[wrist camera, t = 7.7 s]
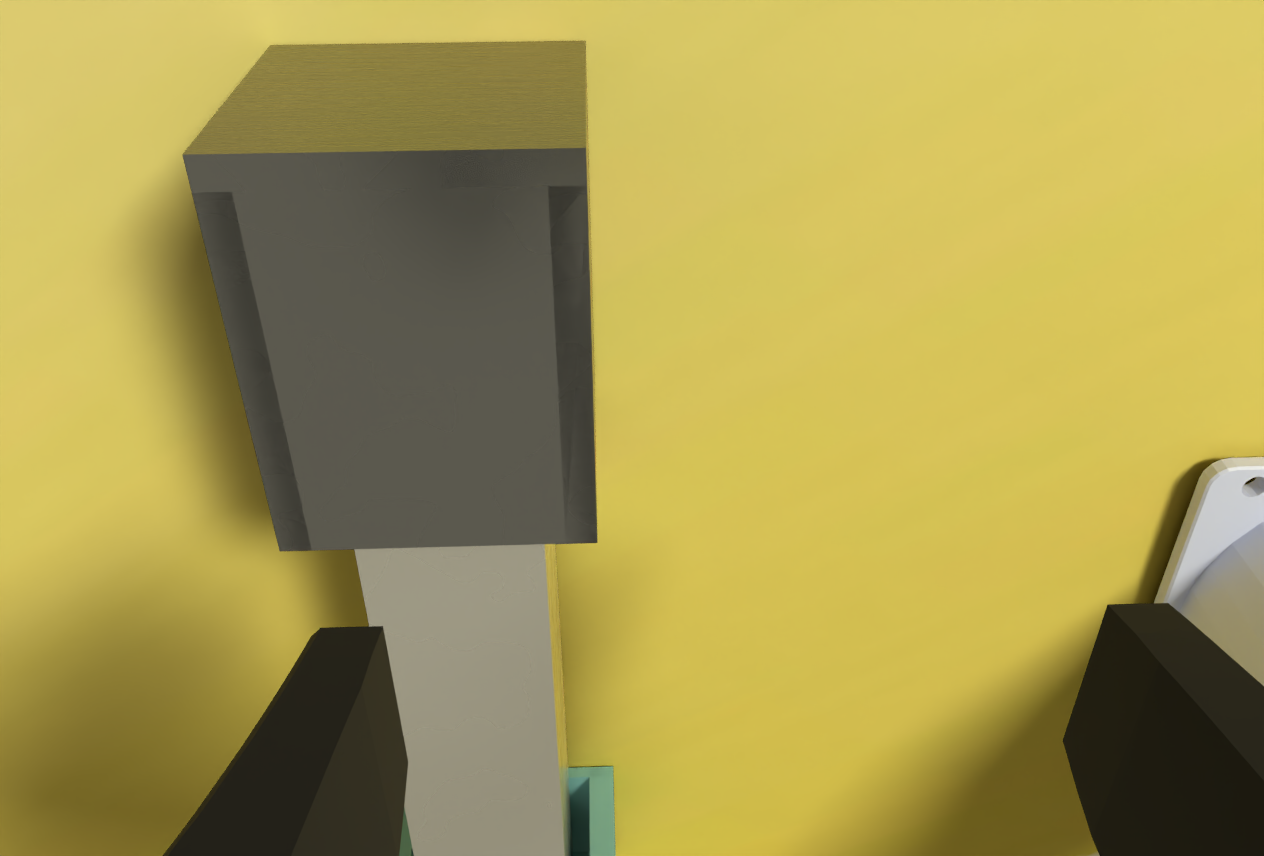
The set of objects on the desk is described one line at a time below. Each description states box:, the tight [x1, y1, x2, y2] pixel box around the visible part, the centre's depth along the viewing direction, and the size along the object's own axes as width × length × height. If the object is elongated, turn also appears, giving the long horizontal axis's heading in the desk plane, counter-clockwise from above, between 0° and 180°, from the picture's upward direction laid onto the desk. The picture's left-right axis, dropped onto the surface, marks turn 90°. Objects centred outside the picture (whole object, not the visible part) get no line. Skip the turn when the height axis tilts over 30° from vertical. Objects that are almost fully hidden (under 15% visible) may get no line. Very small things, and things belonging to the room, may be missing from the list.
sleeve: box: [183, 41, 597, 551], centre depth 18 cm, size 5×6×5 cm
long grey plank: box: [354, 544, 573, 856], centre depth 23 cm, size 3×14×3 cm, turn 0°
